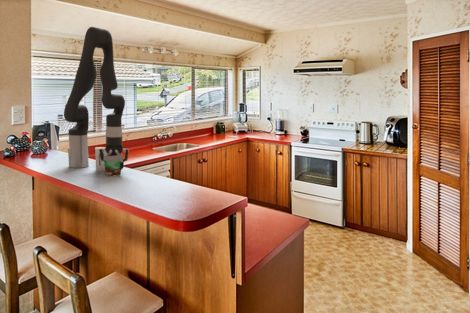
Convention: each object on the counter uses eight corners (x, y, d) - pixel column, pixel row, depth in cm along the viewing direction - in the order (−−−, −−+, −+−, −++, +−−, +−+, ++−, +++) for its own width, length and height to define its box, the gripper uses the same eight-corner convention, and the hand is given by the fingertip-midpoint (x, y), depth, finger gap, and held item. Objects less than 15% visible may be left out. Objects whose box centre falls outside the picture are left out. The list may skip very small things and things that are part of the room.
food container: (115, 177, 171) (115, 156, 169) (103, 176, 172) (103, 156, 170) (127, 172, 183) (127, 152, 181) (116, 171, 184) (116, 152, 182)
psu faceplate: (95, 171, 183) (95, 148, 181) (96, 170, 185) (95, 147, 183) (118, 171, 185) (117, 148, 183) (118, 170, 187) (118, 147, 185)
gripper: (130, 135, 179) (130, 167, 182) (100, 134, 177) (100, 167, 180) (128, 136, 172) (128, 171, 175) (97, 136, 169) (97, 170, 172)
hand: (114, 169), depth 177 cm, fingers closed on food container, 6 cm apart
